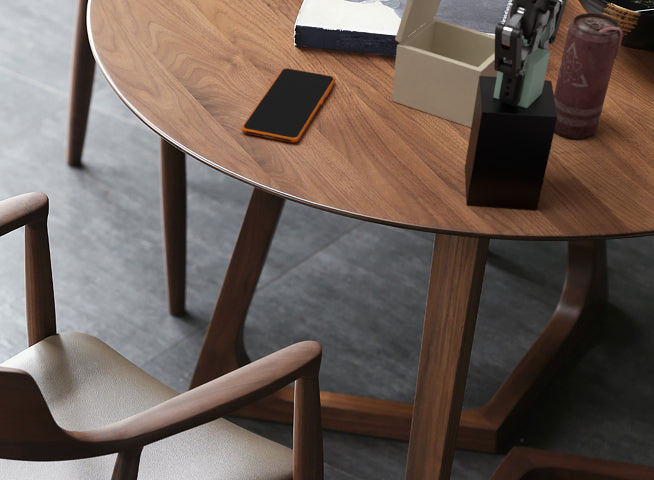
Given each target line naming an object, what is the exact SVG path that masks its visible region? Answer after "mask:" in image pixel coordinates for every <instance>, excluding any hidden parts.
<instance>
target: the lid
mask: <svg viewBox="0 0 654 480" xmlns="http://www.w3.org/2000/svg"><path fill="white" fill-rule="evenodd" d="M441 1H442V0H406V3H405V6H404V8H403V9H404V10H403V12H402V16H401V19H400V22H399V25H398V29H397V32H396V36H395V39H394V40H395V41H396V42H398V44H399V43H401V42H402V41H403V40H405V39H406V38H407V37H408V36H410V35H411V34H412V33H414V32H415V31H416V30H418V29H419V28H420V27H421V26H423V25H424V24H425V23H427V22H428V21H429V20H431V19H432V18H435V17H436V16H437V13H438V10H439V8H440V4H441Z"/></svg>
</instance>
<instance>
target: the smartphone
mask: <svg viewBox="0 0 654 480" xmlns="http://www.w3.org/2000/svg"><path fill="white" fill-rule="evenodd" d="M335 82H336V78H335V77H334V76H333V75H327V74H322V73H317V72H311V71H305V70H299V69H294V68H289V67H285V68H282V69H281V70H280V72H279V73H278V74H277V76H276V78H275V79H274V80H273V82H272V83H271V84H270V85H269V88H268V89H267V91H266V92H265V93H264V95H263V96H262V97H261V99H260V101H259V102H258V104H257V105H256V106H255V107H254V109H253V110H252V112H251V113H250V115H249V116H248V117H247V119H246V120H245V121H244V123H243V125H242V126H241V132H243V134H247V135H253V136H257V137H263V138H267V139H273V140H277V141H282V142H288V143H297V142H299V140H301V138H302V136H303V134H304V133H305V131H306V129H307V128H308V126H309V125H310V124H311V121H312V120H313V118H314V116H315V115H316V113H317V111H318V110H319V108H320V106H322V105H323V104H324V101H325V99H326V98H327V97H328V95H329V93H330V92H331V90H332V89H333V86H334V84H335Z"/></svg>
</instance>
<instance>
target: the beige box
mask: <svg viewBox="0 0 654 480" xmlns="http://www.w3.org/2000/svg"><path fill="white" fill-rule="evenodd" d="M395 54H396V55H395V63H394V75H393V83H392V84H393V85H392V94H391V95H392V96H391V102H393V103H397V104H399V105H402V106H405V107H408V108H411V109H414V110H417V111H420V112H423V113H425V114H429V115H432V116H434V117H438V118H441V119H444V120H447V121H450V122H453V123H454V124H458V125H462V126H464V127H467V128H470V129H471V126H472V119H473V113H474V107H475V101H476V94H477V88H478V82H479V76H490V77H497V73H498V71H496V70H495V69H494V67H495V35H494V34H493V35H492V34H491V33H490V34H489V33H486V32H483V31H479V30H476V29H472V28H469V27H466V26H464V25H463V26H462V25H460V24H456V23H453V22H449V21H446V20H442V19H439V18H436V17H433V18H432V19H430V20H429V21H428V22H426V23H425V24H424V25H423V26H421V27H420V28H419V29H417V30H416V31H415V32H413V33H412V34H411V35H410V36H408V37H407V38H406V39H404V40H403V41H402V42H400V43H399V42H398V44H397V45H396V53H395Z"/></svg>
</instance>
